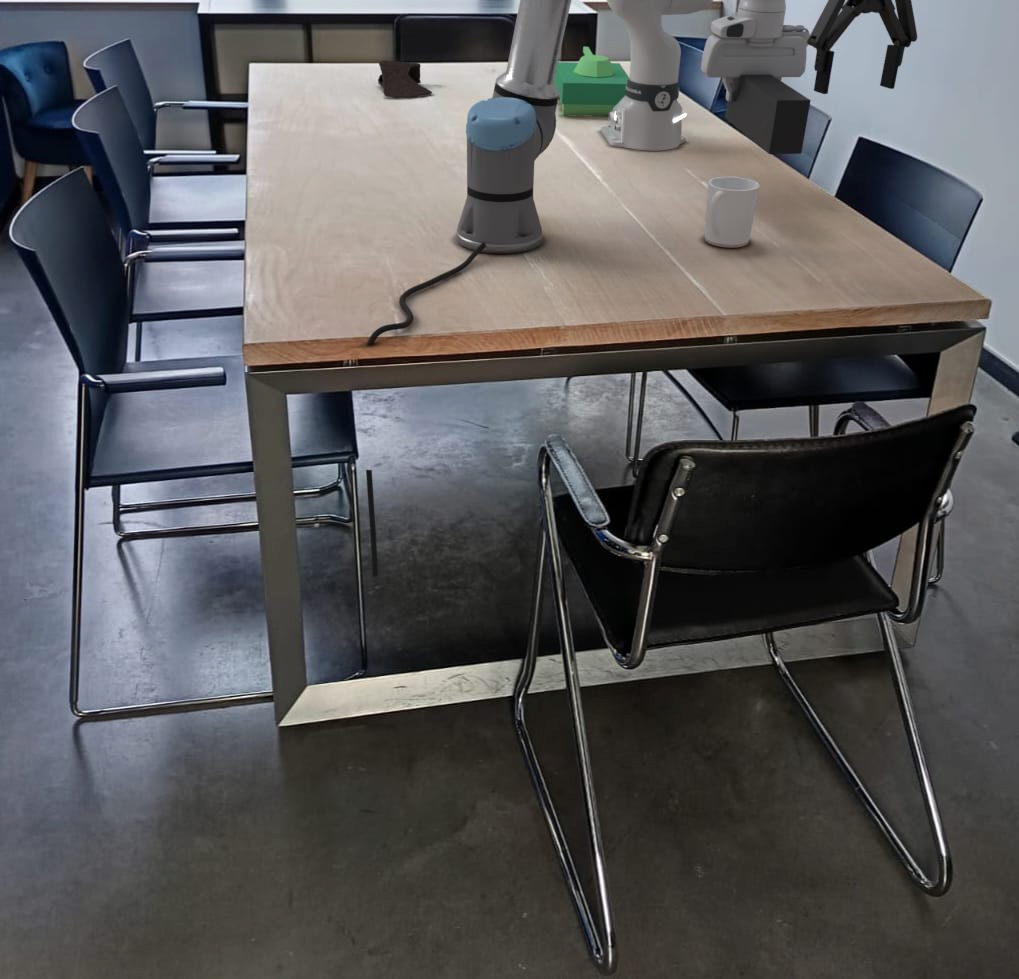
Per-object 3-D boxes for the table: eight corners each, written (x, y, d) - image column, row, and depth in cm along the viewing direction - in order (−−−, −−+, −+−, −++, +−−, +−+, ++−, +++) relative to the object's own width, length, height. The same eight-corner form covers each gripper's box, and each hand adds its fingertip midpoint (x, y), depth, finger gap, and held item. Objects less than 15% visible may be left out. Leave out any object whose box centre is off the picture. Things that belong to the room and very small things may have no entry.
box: (801, 153, 200) (810, 100, 194) (768, 154, 199) (777, 100, 194) (754, 118, 220) (762, 68, 215) (725, 118, 219) (731, 68, 214)
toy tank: (616, 43, 300) (635, 68, 271) (613, 90, 307) (630, 119, 277) (552, 42, 300) (564, 66, 270) (550, 88, 306) (561, 118, 276)
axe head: (443, 87, 294) (392, 77, 287) (436, 115, 299) (385, 106, 292) (421, 62, 307) (371, 52, 300) (414, 89, 311) (365, 80, 304)
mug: (717, 229, 203) (724, 173, 198) (760, 239, 198) (768, 183, 193) (686, 243, 196) (692, 186, 190) (730, 255, 191) (737, 196, 186)
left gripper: (925, -56, 178) (898, 80, 189) (798, -53, 170) (778, 89, 181) (958, -51, 172) (928, 89, 183) (828, -48, 164) (805, 99, 175)
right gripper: (805, 22, 211) (793, 96, 219) (703, 21, 208) (694, 96, 216) (817, 28, 206) (804, 103, 214) (713, 28, 203) (704, 104, 211)
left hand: (854, 89), depth 182 cm, fingers open, 13 cm apart
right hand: (748, 100), depth 215 cm, fingers closed on box, 6 cm apart
